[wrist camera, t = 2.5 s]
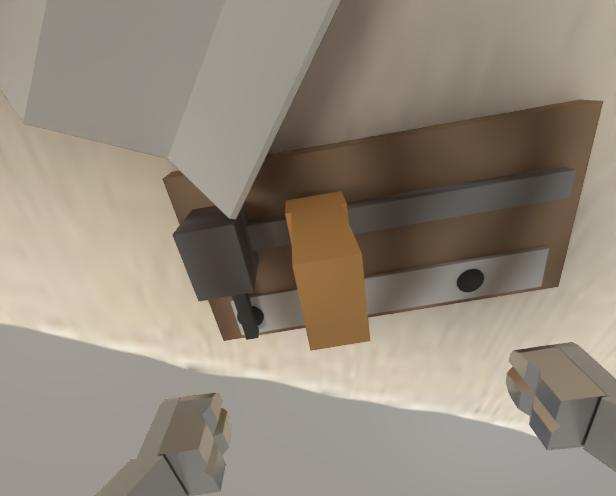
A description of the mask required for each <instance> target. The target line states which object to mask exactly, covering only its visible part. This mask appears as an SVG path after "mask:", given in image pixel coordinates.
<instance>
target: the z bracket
mask: <svg viewBox="0 0 616 496" xmlns="http://www.w3.org/2000/svg"><path fill="white" fill-rule="evenodd" d="M340 1H341V0H0V89H1V90H2V92H3V93H4V95H5V97H6V98H7V100H8V101H9V103H10V104H11V106H12V107H13V109H14V110H15V112H16V113H17V115H18V116H19V118H20V120H21V121H22V123H23V124H27V125H32V126H36V127H40V128H44V129H48V130H52V131H56V132H60V133H64V134H69V135H73V136H77V137H81V138H85V139H89V140H93V141H97V142H101V143H106V144H110V145H114V146H118V147H122V148H126V149H130V150H134V151H138V152H142V153H147V154H151V155H155V156H159V157H163V158H167V159H168V160H169V161H170V162H172V163H173V164H174V165H175V166H176V167H177V168H178V169H179V170H180V171H181V172H182V173H183V174H184V175H185V176H186V177H187V178H188V179H189V180H190V181H191V182H192V183H193V184H194V185H195V186H196V187H197V188H198V189H199V190H200V191H201V192H202V193H204V194H205V195H206V196H207V197H208V198H209V199H210V200H211V201H212V202H213V203H214V204H215V205H216V206H217V207H218V208H219V209H220V210H221V211H222V212H223V213H224V214H225V215H226V216H227V217H228V218H229V219H236V218H237V216H238V214H239V212H240V210H241V207H242V205H243V203H244V201H245V199H246V197H247V195H248V193H249V191H250V189H251V187H252V185H253V182H254V180H255V178H256V176H257V174H258V172H259V170H260V168H261V166H262V164H263V162H264V160H265V157H266V155H267V153H268V151H269V149H270V147H271V145H272V143H273V141H274V139H275V137H276V135H277V132H278V130H279V128H280V126H281V124H282V122H283V120H284V118H285V116H286V114H287V112H288V110H289V107H290V105H291V103H292V101H293V99H294V97H295V95H296V93H297V91H298V89H299V87H300V85H301V83H302V80H303V78H304V76H305V74H306V72H307V70H308V68H309V66H310V64H311V62H312V60H313V58H314V55H315V53H316V51H317V49H318V47H319V45H320V43H321V41H322V39H323V37H324V35H325V33H326V30H327V28H328V26H329V24H330V22H331V20H332V18H333V16H334V14H335V12H336V10H337V8H338V5H339V3H340Z"/></svg>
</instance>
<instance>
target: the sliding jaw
mask: <svg viewBox="0 0 616 496" xmlns="http://www.w3.org/2000/svg"><path fill="white" fill-rule="evenodd" d="M285 215H286V220H287V225H288V230H289V235H290V239H291V244H292V266H293V271H294V275H295V280H296V285H297V289H298V294H299V299H300V303H301V308H302V313H303V317H304V322H305V327H306V331H307V336H308V341H309V345H310V350H317V349H323V348H329V347H335V346H341V345H348V344H354V343H360V342H366V341H370V334H369V323H368V313H367V302H366V292H365V281H364V271H363V260H362V253H361V250H360V248H359V246H358V243H357V241H356V239H355V237H354V234H353V232H352V230H351V227H350V225H349V218H348V209H347V203H346V201H345V199H344V197H343V195H342V193H341V191H338V192H333V193H327V194H321V195H315V196H310V197H304V198H298V199H292V200H286V204H285Z"/></svg>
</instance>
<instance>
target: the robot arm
mask: <svg viewBox="0 0 616 496" xmlns="http://www.w3.org/2000/svg"><path fill="white" fill-rule="evenodd" d="M509 362H510V363H511V364H512V366H513V367H512V368H511V369H510V370H509V371H508V372H507V377H506V384H507V388H508V392H509V394H510V396H511V398H512V400H513V402H514V403H515V405H516V406H517V408H518V409H519V410H521V411H523V412H524V413H526V414H527V415H529V416H530V420H529V425H530V427H531V428H532V429H533V431H534V432H535V434H536V435H537V437H538V438H539V439H540V441H541V442H542V444H543V445H544V447H545V448H546V449H547V450H555V449H565V448H575V447H583V449H584V450H585V451H587V452H589V453H590V454H591V455H592V456H594V457H595V458H597V459H598V460H599V461H601V462H602V463H604V464H605V465H606V466H608V467H609V468H611V469H612V470H613V471H615V472H616V379H615V378H614V377H613V376H612V375H611V374H610V373H609V372H608V371H606V370H605V369H604V368H603V367H602V366H601V365H600V364H599V363H598V362H597V361H595V360H594V359H593V358H592V357H591V356H590V355H589V354H588V353H587V352H585V351H584V350H583V349H582V348H581V347H580V346H579V345H577V344H575V343H573V342H569V343H562V344H555V345H546V346H540V347H533V348H527V349H520V350H514V351H513V352H512V353H511V354H510V358H509ZM222 402H223V400H222V398H221V396H220V394H219V393H211V394H201V395H192V396H183V397H177V398H168V399H165V400H164V401H163V402H162V403H161V404H160V406H159V408H158V411H157V413H156V415H155V418H154V420H153V422H152V424H151V427H150V429H149V431H148V434H147V436H146V438H145V440H144V443H143V445H142V447H141V450H140V452H139V454H138V456H137V459H131V460H130V461H129V462H128V463H127V464H126V465H125V466H124V467H123V468H122V469H121V470H120V471H119V472H118V473H117V474H116V475H115V476H114V477H113V478H112V479H111V480H110V481H109V482H108V483H107V484H106V485H105V486H104V487H103V488H102V489H101V490H100V491H99V492H98V493H97V494H96V495H95V496H194V495H200V494H207V493H213V492H219V491H221V485H222V480H223V475H224V470H225V465H226V464H225V461H224V459H223V457H222V455H223V454H224V453H225V452H226V450H227V449H228V448H229V444H230V438H231V422H230V417H229V414H228V412H227V411H226V410H224V409H223V408H221V407H222Z"/></svg>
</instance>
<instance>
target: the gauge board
mask: <svg viewBox="0 0 616 496" xmlns="http://www.w3.org/2000/svg"><path fill="white" fill-rule="evenodd" d="M602 104H603V101H593V100H577V101H571V102H565V103H560V104H554V105H548V106H543V107H537V108H531V109H526V110H520V111H515V112H509V113H503V114H498V115H492V116H486V117H481V118H475V119H469V120H464V121H458V122H452V123H447V124H441V125H435V126H430V127H424V128H418V129H413V130H407V131H402V132H396V133H390V134H385V135H379V136H373V137H368V138H362V139H356V140H351V141H345V142H339V143H334V144H328V145H322V146H317V147H311V148H305V149H300V150H294V151H289V152H283V153H277V154H272V155H266V157H265V160H264V162H263V164H262V166H261V168H260V170H259V172H258V174H257V176H256V178H255V180H254V182H253V185H252V187H251V189H250V191H249V193H248V195H247V197H246V199H245V201H244V203H243V205H242V207H241V210H240V212H239V214H238V216H237V218H236V219H229V218H228V217H227V216H226V215H225V214H224V213H223V212H222V211H221V210H220V209H219V208H218V207H217V206H216V205H215V204H214V203H213V202H212V201H211V200H210V199H209V198H208V197H207V196H206V195H205V194H204V193H202V192H201V191H200V190H199V189H198V188H197V187H196V186H195V185H194V184H193V183H192V182H191V181H190V180H189V179H188V178H187V177H186V176H185V175H184V174H183V173H182V172H181V171H176V172H171V173H170V174H168V175H167V176H166V177H164V178H163V181H164V184H165V187H166V189H167V192H168V195H169V197H170V200H171V203H172V205H173V208H174V211H175V213H176V216H177V218H178V221H179V224H180V226H179V227H178V228H177V230H176V231H175V232H174V234H173V237H174V240H175V243H176V245H177V248H178V250H179V253H180V255H181V258H182V260H183V263H184V265H185V268H186V270H187V273H188V275H189V278H190V280H191V283H192V286H193V288H194V291H195V293H196V296H197V298H198V301H204V300H208V301H209V303H210V306H211V308H212V311H213V314H214V316H215V319H216V322H217V324H218V327H219V330H220V332H221V335H222V338H223V340H224V341H226V340H232V339H238V338H244V337H246V340H248V339H254V338H258V336H259V335H263V334H269V333H275V332H281V331H287V330H294V329H300V328H306V327H305V322H304V317H303V313H302V308H301V303H300V299H299V294H298V289H297V285H296V280H295V275H294V271H293V266H292V244H291V239H290V235H289V230H288V225H287V220H286V215H285V204H286V200H292V199H298V198H304V197H310V196H315V195H321V194H327V193H333V192H338V191H341V193H342V195H343V197H344V199H345V201H346V203H347V209H348V218H349V225H350V227H351V230H352V232H353V234H354V237H355V239H356V241H357V243H358V246H359V248H360V250H361V253H362V260H363V271H364V281H365V292H366V302H367V313H368V317H374V316H380V315H386V314H392V313H398V312H405V311H411V310H417V309H423V308H429V307H435V306H442V305H448V304H454V303H460V302H466V301H472V300H479V299H485V298H491V297H497V296H503V295H509V294H516V293H522V292H528V291H534V290H540V289H546V288H553V287H558V286H559V282H560V278H561V273H562V269H563V265H564V261H565V257H566V253H567V249H568V244H569V240H570V236H571V232H572V228H573V224H574V220H575V216H576V211H577V207H578V203H579V199H580V195H581V191H582V187H583V182H584V178H585V174H586V170H587V166H588V162H589V158H590V154H591V149H592V145H593V141H594V137H595V133H596V129H597V125H598V121H599V116H600V112H601V108H602Z"/></svg>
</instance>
